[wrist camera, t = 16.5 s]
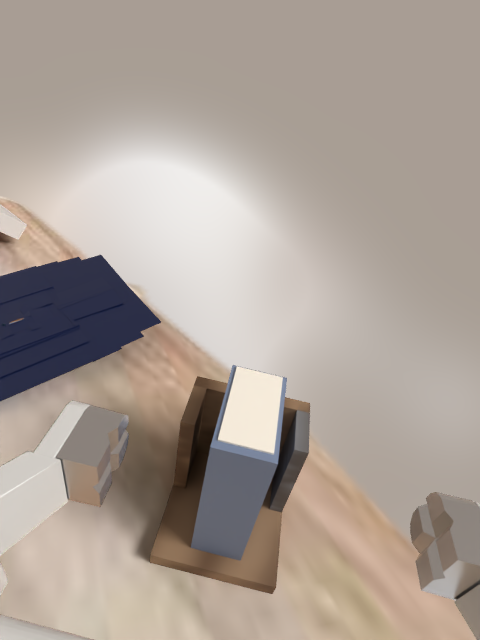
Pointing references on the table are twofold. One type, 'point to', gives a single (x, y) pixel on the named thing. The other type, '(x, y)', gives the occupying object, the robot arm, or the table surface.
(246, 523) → the tall blue pillar
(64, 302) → the navy flat slab
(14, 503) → the robot arm
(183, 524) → the shelf
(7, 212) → the pizza boxes
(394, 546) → the table surface
